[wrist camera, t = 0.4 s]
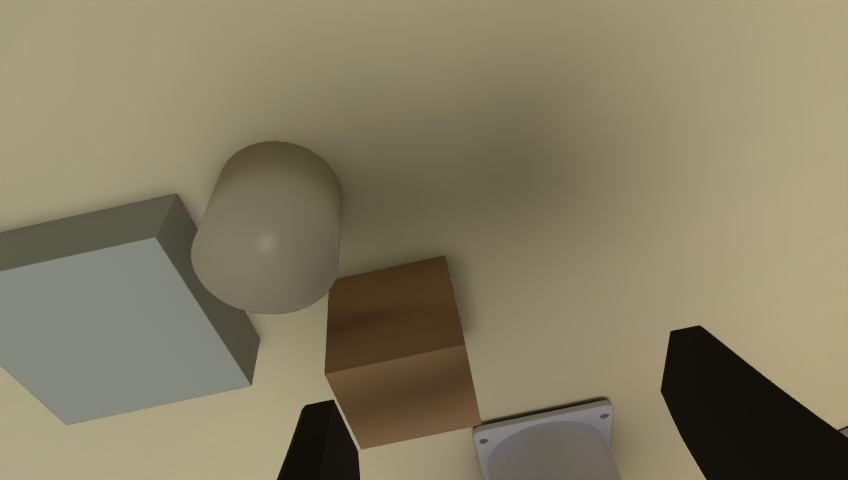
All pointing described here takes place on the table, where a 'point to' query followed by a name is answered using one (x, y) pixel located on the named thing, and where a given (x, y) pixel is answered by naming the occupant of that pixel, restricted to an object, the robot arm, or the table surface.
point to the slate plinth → (116, 314)
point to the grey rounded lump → (270, 230)
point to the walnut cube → (399, 354)
